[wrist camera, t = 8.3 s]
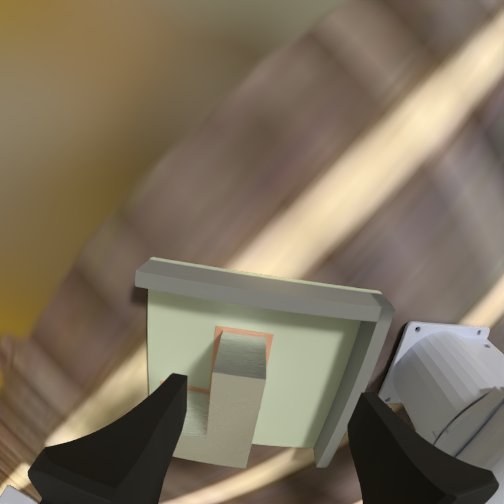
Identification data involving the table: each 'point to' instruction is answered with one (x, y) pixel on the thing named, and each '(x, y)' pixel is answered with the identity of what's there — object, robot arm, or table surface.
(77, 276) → the table surface
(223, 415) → the bracket
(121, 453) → the robot arm
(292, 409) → the arena
